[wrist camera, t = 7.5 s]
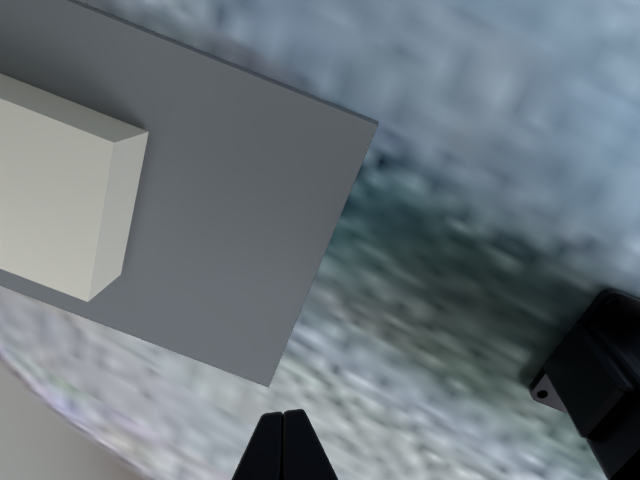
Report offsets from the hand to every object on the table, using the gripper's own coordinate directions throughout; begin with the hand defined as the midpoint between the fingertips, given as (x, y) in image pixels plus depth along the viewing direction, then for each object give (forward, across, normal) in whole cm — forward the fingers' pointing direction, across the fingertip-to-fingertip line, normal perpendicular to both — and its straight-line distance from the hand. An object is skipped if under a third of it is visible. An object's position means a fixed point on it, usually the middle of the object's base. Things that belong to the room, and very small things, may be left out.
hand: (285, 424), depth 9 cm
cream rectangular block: (+11, +7, 0) cm, 13 cm away
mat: (+13, +6, 0) cm, 14 cm away
